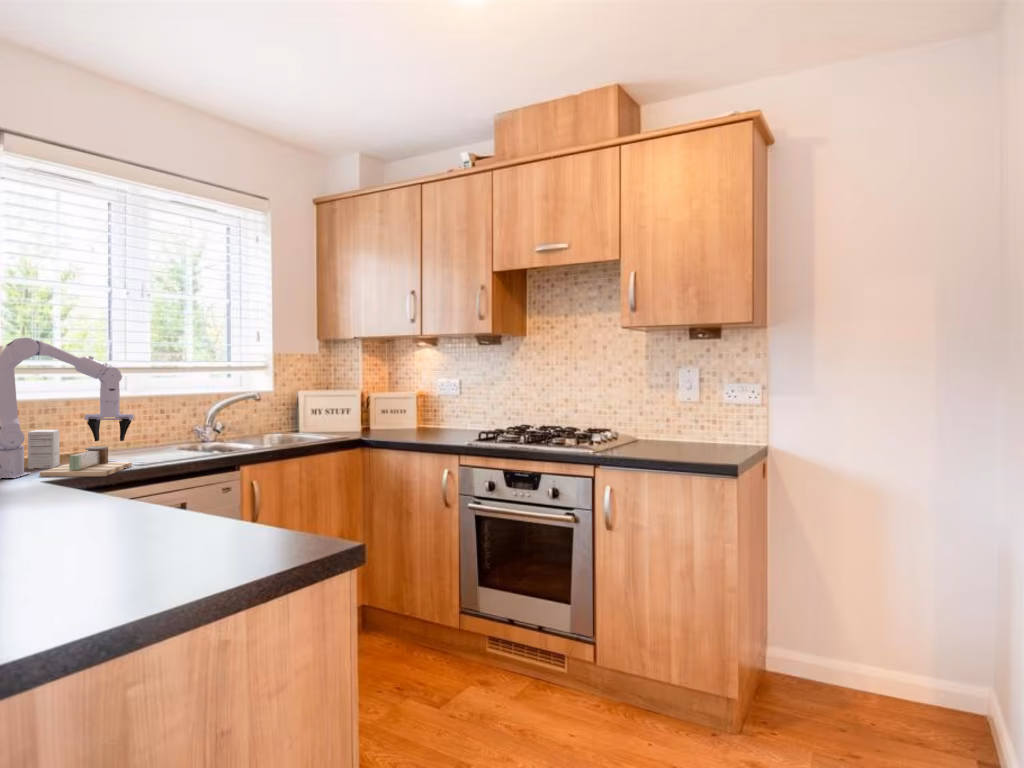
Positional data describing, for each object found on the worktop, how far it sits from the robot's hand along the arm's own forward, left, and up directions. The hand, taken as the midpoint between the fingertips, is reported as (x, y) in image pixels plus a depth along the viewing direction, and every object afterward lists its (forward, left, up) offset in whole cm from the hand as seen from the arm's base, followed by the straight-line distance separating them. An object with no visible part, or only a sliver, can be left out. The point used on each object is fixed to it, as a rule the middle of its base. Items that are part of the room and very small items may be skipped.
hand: (109, 440), depth 216 cm
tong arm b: (-8, +5, -8) cm, 12 cm away
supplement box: (+3, +22, -10) cm, 24 cm away
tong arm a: (-8, +3, -8) cm, 12 cm away
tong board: (-7, +4, -9) cm, 12 cm away
